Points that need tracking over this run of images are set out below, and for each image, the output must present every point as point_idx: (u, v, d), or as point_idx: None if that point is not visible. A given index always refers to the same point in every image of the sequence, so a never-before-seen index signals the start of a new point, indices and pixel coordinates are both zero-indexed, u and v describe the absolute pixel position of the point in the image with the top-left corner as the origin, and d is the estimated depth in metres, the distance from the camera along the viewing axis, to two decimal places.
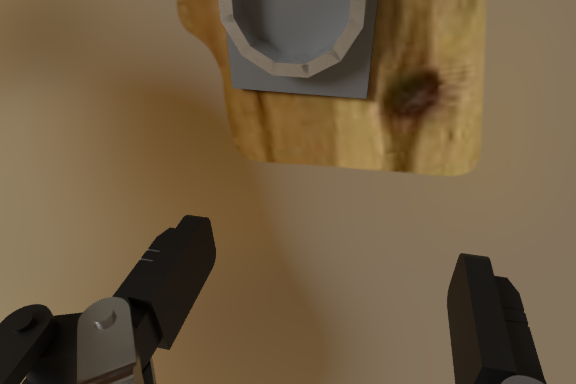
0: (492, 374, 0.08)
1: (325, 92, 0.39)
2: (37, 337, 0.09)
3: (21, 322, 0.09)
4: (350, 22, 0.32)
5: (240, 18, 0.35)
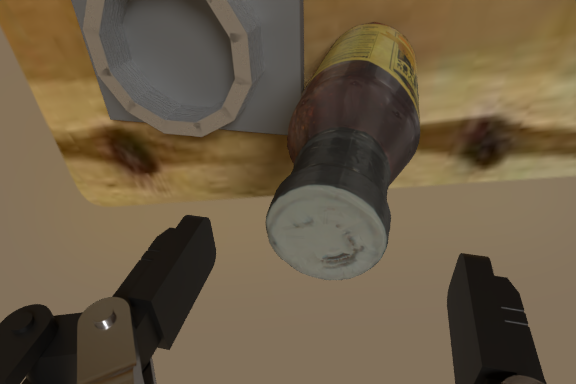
0: (492, 374, 0.08)
1: None
2: (37, 337, 0.09)
3: (21, 322, 0.09)
4: (164, 121, 0.31)
5: None
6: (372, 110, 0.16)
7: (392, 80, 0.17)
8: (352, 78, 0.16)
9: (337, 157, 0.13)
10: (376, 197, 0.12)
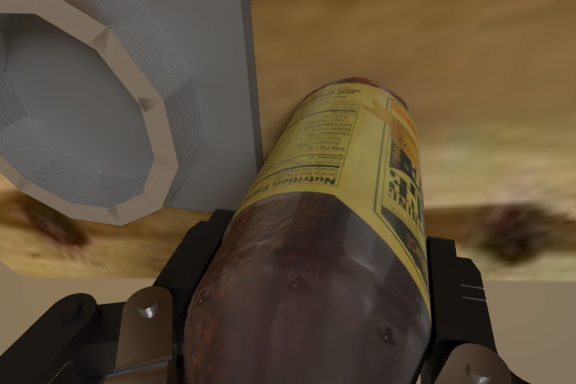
0: (447, 344, 0.09)
1: None
2: (85, 324, 0.09)
3: (68, 310, 0.09)
4: (70, 204, 0.22)
5: None
6: (332, 350, 0.07)
7: (378, 248, 0.09)
8: (293, 267, 0.08)
9: None
10: None
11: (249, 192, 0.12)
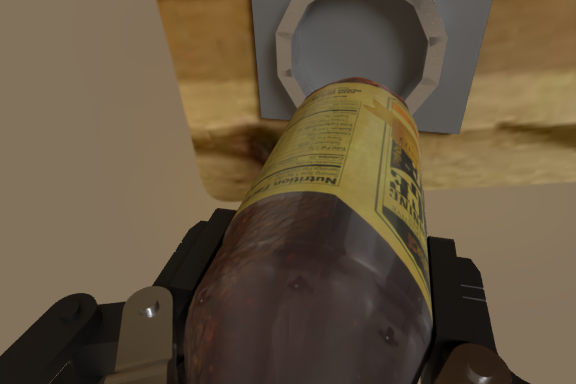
0: (446, 343, 0.09)
1: (261, 76, 0.35)
2: (85, 324, 0.09)
3: (69, 310, 0.09)
4: None
5: None
6: (334, 350, 0.07)
7: (379, 248, 0.09)
8: (295, 268, 0.08)
9: None
10: None
11: (250, 192, 0.12)
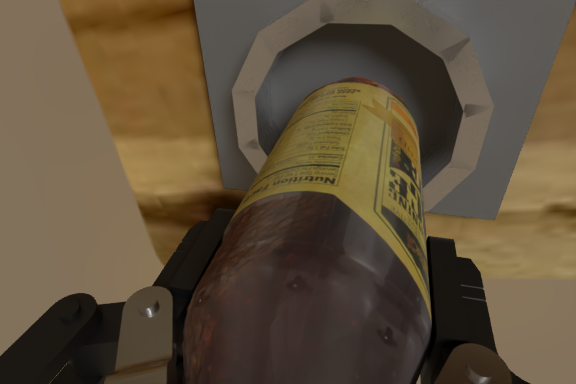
0: (446, 343, 0.09)
1: (220, 138, 0.25)
2: (85, 324, 0.09)
3: (69, 310, 0.09)
4: None
5: None
6: (332, 350, 0.07)
7: (378, 248, 0.09)
8: (293, 268, 0.08)
9: None
10: None
11: (249, 192, 0.12)
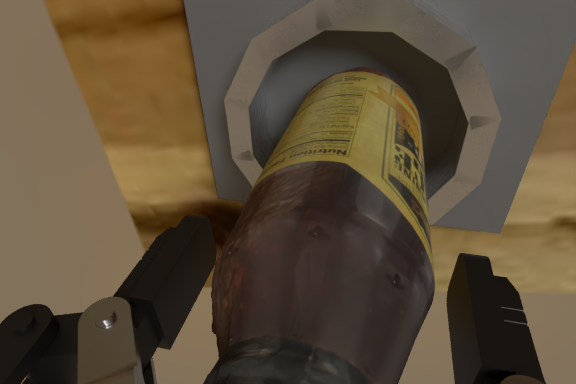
0: (491, 374, 0.08)
1: (213, 147, 0.24)
2: (38, 337, 0.09)
3: (22, 322, 0.09)
4: None
5: None
6: (348, 288, 0.08)
7: (386, 207, 0.10)
8: (313, 220, 0.09)
9: None
10: None
11: (266, 166, 0.13)
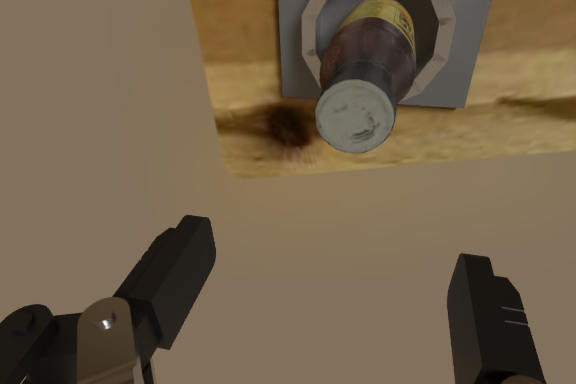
0: (492, 374, 0.08)
1: (284, 57, 0.39)
2: (37, 337, 0.09)
3: (22, 322, 0.09)
4: None
5: None
6: (382, 47, 0.23)
7: (396, 29, 0.24)
8: (368, 26, 0.23)
9: (361, 69, 0.20)
10: (387, 89, 0.19)
11: (337, 30, 0.27)
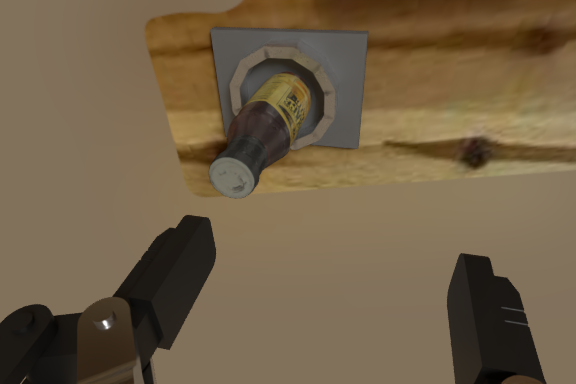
0: (492, 374, 0.08)
1: (223, 109, 0.51)
2: (37, 337, 0.09)
3: (22, 322, 0.09)
4: None
5: None
6: (260, 126, 0.35)
7: (274, 111, 0.36)
8: (253, 112, 0.35)
9: (238, 147, 0.32)
10: (249, 162, 0.31)
11: None
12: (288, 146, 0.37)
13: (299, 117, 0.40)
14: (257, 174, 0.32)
